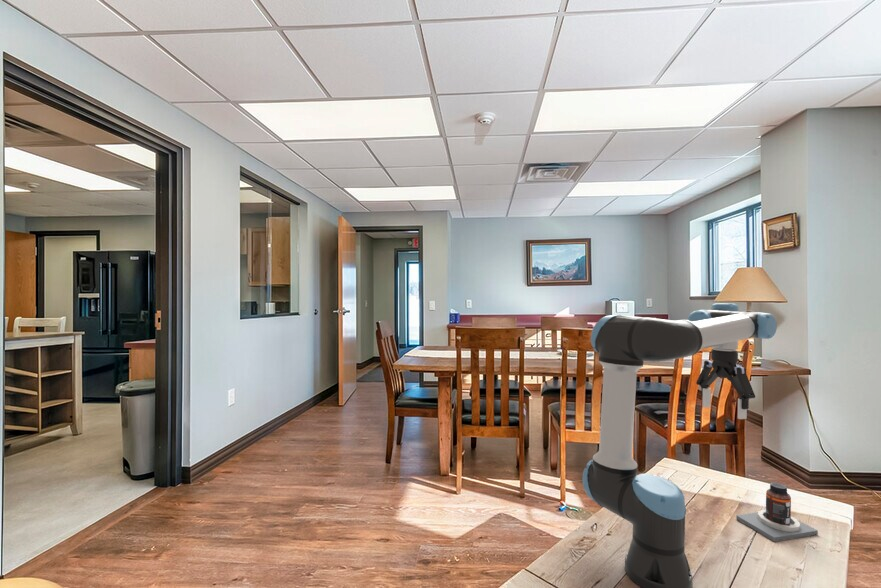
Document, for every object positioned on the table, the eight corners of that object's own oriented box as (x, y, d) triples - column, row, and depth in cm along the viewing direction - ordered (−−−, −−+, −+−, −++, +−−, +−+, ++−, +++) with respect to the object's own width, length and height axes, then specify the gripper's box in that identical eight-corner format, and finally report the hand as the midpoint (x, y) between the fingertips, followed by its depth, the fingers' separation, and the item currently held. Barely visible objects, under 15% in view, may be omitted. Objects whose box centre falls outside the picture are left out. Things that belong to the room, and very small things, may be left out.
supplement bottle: (795, 528, 125) (796, 491, 125) (772, 526, 127) (773, 489, 126) (783, 518, 131) (783, 481, 131) (761, 516, 132) (762, 480, 132)
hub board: (774, 541, 121) (774, 533, 121) (736, 519, 133) (736, 511, 133) (817, 534, 125) (817, 526, 125) (777, 513, 136) (777, 505, 136)
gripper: (769, 354, 130) (768, 423, 131) (703, 344, 155) (702, 401, 155) (750, 355, 129) (749, 425, 129) (685, 344, 153) (684, 403, 153)
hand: (723, 412), depth 142 cm, fingers open, 13 cm apart
